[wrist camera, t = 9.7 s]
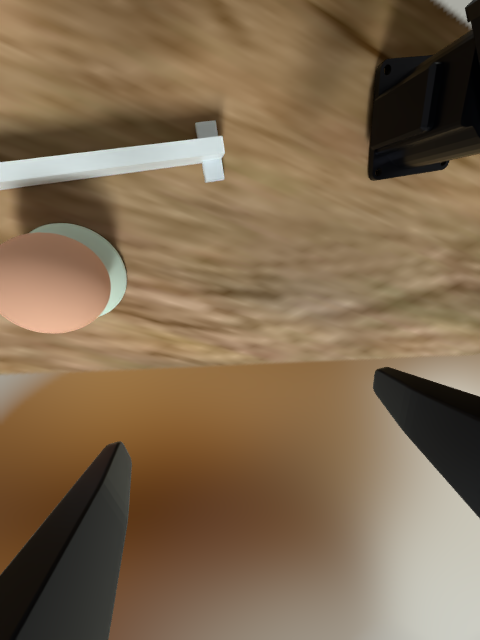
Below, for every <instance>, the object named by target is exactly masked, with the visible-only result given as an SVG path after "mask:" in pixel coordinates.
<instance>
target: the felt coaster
mask: <svg viewBox="0 0 480 640" xmlns="http://www.w3.org/2000/svg"><path fill="white" fill-rule="evenodd" d="M36 232H42V233H54V234H59V235H63V236H66V237H69V238H72V239H74V240H76V241H78V242H80V243H82V244H84V245H85V246H87V247H88V248H89V249H91V250H92V251H93V252H94V253H95V254H96V255H97V256H98V257H99V258H100V260H101V261H102V262H103V264H104V265H105V267H106V269H107V271H108V274H109V277H110V282H111V292H110V298H109V301H108V303H107V305H106V307H105V309H104V310H103V312H102V313H101V314H100V315H99V316H102V315H104V314H106V313H108V312H110V311H111V310H112V309H113V308H115V307H116V306H117V304H118V303H119V302H120V301H121V299H122V297H123V295H124V293H125V290H126V286H127V274H126V269H125V265H124V263H123V261H122V259H121V257H120V255H119V253H118V252H117V251H116V249H115V248H114V247H113V246H112V245H111V244H110V243H109V242H108V241H107V240H106V239H105V238H103V237H102V236H101V235H99V234H98V233H96V232H94V231H92V230H90V229H88V228H85V227H83V226H79V225H75V224H69V223H54V224H48V225H43V226H41V227H38V228H36V229H34V230H33V231H31V232H30V233H36ZM99 316H98V317H99Z"/></svg>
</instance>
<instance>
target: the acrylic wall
mask: <svg viewBox="0 0 480 640" xmlns="http://www.w3.org/2000/svg"><path fill="white" fill-rule="evenodd" d="M195 129H196V134H197V139H191V140H183V141H175V142H166V143H158V144H149V145H141V146H133V147H124V148H116V149H108V150H99V151H91V152H83V153H74V154H66V155H57V156H49V157H41V158H32V159H24V160H16V161H7V162H0V190H4V189H12V188H19V187H27V186H34V185H42V184H49V183H57V182H64V181H72V180H79V179H87V178H94V177H102V176H109V175H117V174H124V173H131V172H139V171H146V170H154V169H161V168H169V167H176V166H184V165H191V164H199V163H202V167H203V173H204V178H205V183H207V182H214V181H221V180H224V172H223V166H222V159H221V158H222V157H223V155H224V154H225V151H224V144H223V137H222V136H218V133H217V126H216V120H214V121H205V122H196V123H195Z"/></svg>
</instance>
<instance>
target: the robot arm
mask: <svg viewBox="0 0 480 640" xmlns="http://www.w3.org/2000/svg"><path fill="white" fill-rule="evenodd" d="M465 11H466V16H467V21H468V22H470V21H471V24H472V30H471V31H470V32H468V33H467V34H465V35H463V36H462V37H460V38H459V39H457V40H456V41H454V42H453V43H451V44H450V45H448V46H447V47H445V48H444V49H442V50H441V51H439V52H437V53H436V54H434V55H429V56H417V57H405V58H393V59H387V60H385V61H384V62H382V63H381V64H380V65H379V66H378V68H377V71H376V78H375V92H374V105H373V119H372V132H371V147H370V161H369V178H370V180H372V181H375V180H381V179H388V178H394V177H400V176H407V175H413V174H419V173H425V172H432V171H438V170H443V169H445V168H446V167H447V165H448V163H449V160H453V159H457V158H462V157H466V156H471V155H476V154H480V0H473V1H472V2H471V3H470V4H469V5H467V6H466V7H465ZM384 68H385V69H386V75H385V73H384ZM376 170H378V173H377V175H376V173H375V172H376ZM373 389H374V392H375V393H376V395H377V396H378V398H379V399H380V400H381V402H382V403H383V404H384V406H385V407H386V409H387V410H388V411H389V413H390V414H391V415H392V417H393V418H394V419H395V421H396V422H397V423H398V425H399V426H400V427H401V429H402V430H403V431H404V432H405V434H406V435H407V436H408V437H409V438H410V439H411V440H412V442H413V443H414V444H415V445H416V446H417V447H418V449H419V450H420V451H421V452H422V453H423V454H424V455H425V456H426V458H427V459H428V460H429V461H430V462H431V463H432V465H433V466H434V467H435V468H436V469H437V470H438V471H439V473H440V474H441V475H442V476H443V477H444V478H445V479H446V480H447V482H448V483H449V484H450V485H451V486H452V487H453V488H454V489H455V491H456V492H457V493H458V494H459V495H460V496H461V498H463V500H464V501H465V502H466V503H467V504H468V506H470V508H471V509H472V510H473V511H474V512H475V513H476V515H477V516H478V517H479V518H480V397H479V396H476V395H473V394H470V393H467V392H463V391H461V390H458V389H454V388H451V387H448V386H445V385H442V384H439V383H436V382H433V381H430V380H427V379H424V378H420V377H417V376H414V375H411V374H408V373H405V372H402V371H399V370H396V369H393V368H389V367H384V368H380V369H377V370H376V371H375V375H374V383H373ZM131 467H132V463H131V458H130V456H129V454H128V452H127V450H126V448H125V446H124V445H123V443H122V442H115V443H112V444H109V445H107V446H106V447H105V448H104V449H103V450H102V452H101V453H100V454H99V455H98V456H97V458H96V459H95V460H94V462H92V464H91V465H90V466H89V467H88V469H87V470H86V471H85V472H84V474H83V475H82V476H81V477H80V478H79V480H78V481H77V482H76V483H75V484H74V486H73V487H72V488H71V489H70V491H69V492H68V493H67V494H66V495H65V497H64V498H63V499H62V500H61V502H60V503H59V504H58V505H57V507H56V508H55V509H54V510H53V511H52V513H51V514H50V515H49V516H48V517H47V519H46V520H45V521H44V523H43V524H42V525H41V526H40V527H39V528H38V530H37V531H36V532H35V533H34V535H33V536H32V537H31V538H30V540H29V541H28V542H27V543H26V545H25V546H24V547H23V548H22V549H21V551H20V552H19V553H18V554H17V555H16V557H15V558H14V559H13V560H12V561H11V563H10V564H9V565H8V566H7V568H6V569H5V570H4V571H3V572H2V574H1V575H0V640H108V638H109V632H110V625H111V620H112V614H113V608H114V601H115V595H116V589H117V583H118V577H119V571H120V565H121V559H122V553H123V547H124V541H125V535H126V529H127V522H128V512H129V511H128V510H129V497H130V496H129V495H130V482H131Z"/></svg>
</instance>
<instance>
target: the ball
mask: <svg viewBox="0 0 480 640" xmlns="http://www.w3.org/2000/svg"><path fill="white" fill-rule="evenodd" d="M110 292H111V282H110V277H109V274H108V271H107V269H106V267H105V265H104V264H103V262H102V261H101V260H100V258H99V257H98V256H97V255H96V254H95V253H94V252H93V251H92V250H91V249H89V248H88V247H87V246H85V245H84V244H82V243H80V242H78V241H76V240H74V239H72V238H69V237H66V236H63V235H59V234H54V233H42V232H36V233H28V234H23V235H19V236H16V237H13V238H11V239H9V240H7V241H6V242H4V243H2V244H1V245H0V314H1V315H2V316H3V317H5V318H6V319H8V320H9V321H10V322H12V323H14V324H16V325H18V326H20V327H23V328H25V329H28V330H31V331H36V332H41V333H64V332H70V331H74V330H77V329H80V328H82V327H84V326H86V325H88V324H90V323H91V322H93V321H94V320H95V319H96V318H97V317H98V316H99V315H100V314H101V313H102V312H103V310H104V309H105V307H106V305H107V303H108V301H109V298H110Z"/></svg>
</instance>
